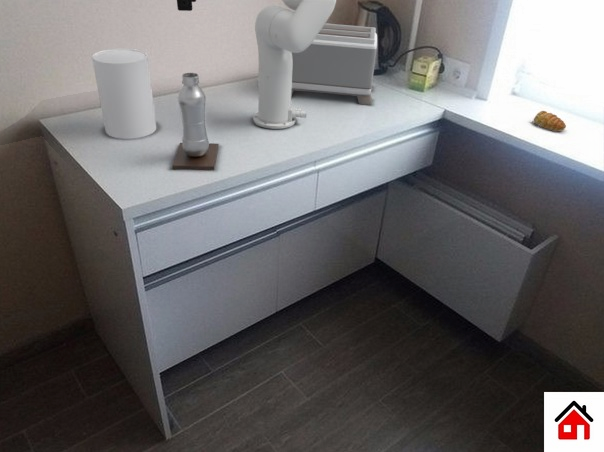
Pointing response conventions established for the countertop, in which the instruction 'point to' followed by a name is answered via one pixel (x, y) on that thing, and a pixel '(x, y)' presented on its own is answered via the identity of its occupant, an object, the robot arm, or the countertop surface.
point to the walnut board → (196, 159)
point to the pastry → (549, 121)
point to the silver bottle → (193, 116)
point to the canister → (125, 92)
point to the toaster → (338, 62)
